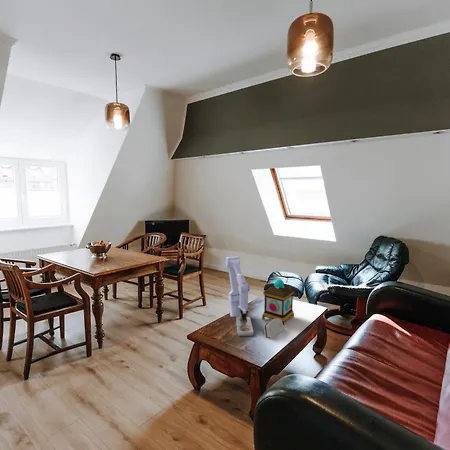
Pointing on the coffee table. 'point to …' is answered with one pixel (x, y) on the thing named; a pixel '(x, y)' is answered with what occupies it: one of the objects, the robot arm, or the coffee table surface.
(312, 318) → the coffee table surface
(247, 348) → the coffee table surface
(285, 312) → the decorative lantern
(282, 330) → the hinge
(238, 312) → the robot arm
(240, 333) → the peg-in-hole board
